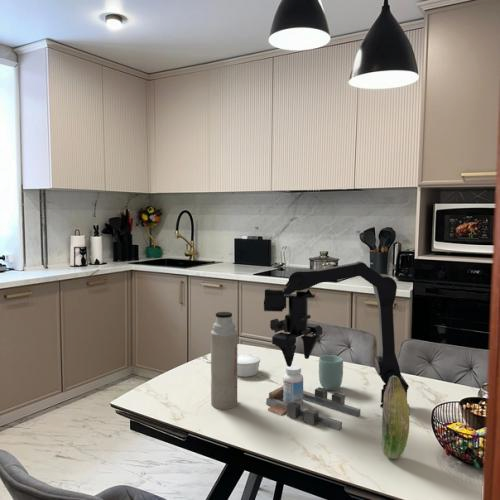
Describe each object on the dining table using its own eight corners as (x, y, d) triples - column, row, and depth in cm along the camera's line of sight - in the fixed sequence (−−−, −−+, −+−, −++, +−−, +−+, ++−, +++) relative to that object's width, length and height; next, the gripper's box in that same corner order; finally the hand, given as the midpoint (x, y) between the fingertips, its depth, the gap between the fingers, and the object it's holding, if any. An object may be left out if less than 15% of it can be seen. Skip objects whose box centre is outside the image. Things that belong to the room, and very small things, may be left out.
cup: (335, 394, 145) (336, 364, 144) (314, 388, 150) (314, 359, 149) (346, 387, 151) (347, 357, 151) (325, 381, 156) (326, 353, 155)
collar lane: (365, 411, 133) (365, 400, 133) (333, 434, 119) (333, 421, 119) (294, 389, 149) (294, 379, 149) (259, 407, 136) (259, 395, 135)
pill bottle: (302, 399, 141) (303, 364, 140) (303, 407, 135) (303, 371, 134) (283, 398, 142) (283, 363, 141) (282, 406, 136) (283, 370, 135)
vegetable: (408, 455, 109) (411, 374, 107) (406, 469, 103) (409, 383, 102) (382, 450, 112) (385, 371, 110) (379, 463, 106) (381, 379, 104)
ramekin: (224, 370, 168) (224, 356, 167) (251, 365, 172) (252, 352, 172) (236, 380, 157) (236, 365, 157) (265, 375, 162) (265, 361, 162)
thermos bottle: (239, 399, 141) (240, 310, 139) (233, 410, 134) (233, 316, 131) (215, 397, 143) (214, 309, 141) (207, 407, 135) (207, 315, 133)
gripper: (294, 303, 149) (293, 350, 150) (257, 313, 135) (257, 364, 136) (323, 308, 142) (323, 356, 143) (288, 318, 127) (288, 373, 129)
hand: (297, 362), depth 138 cm, fingers open, 9 cm apart
